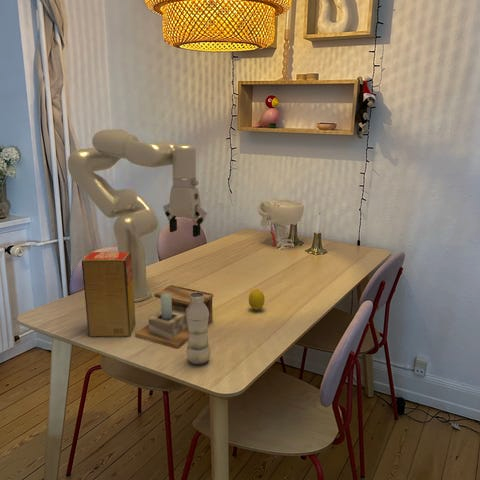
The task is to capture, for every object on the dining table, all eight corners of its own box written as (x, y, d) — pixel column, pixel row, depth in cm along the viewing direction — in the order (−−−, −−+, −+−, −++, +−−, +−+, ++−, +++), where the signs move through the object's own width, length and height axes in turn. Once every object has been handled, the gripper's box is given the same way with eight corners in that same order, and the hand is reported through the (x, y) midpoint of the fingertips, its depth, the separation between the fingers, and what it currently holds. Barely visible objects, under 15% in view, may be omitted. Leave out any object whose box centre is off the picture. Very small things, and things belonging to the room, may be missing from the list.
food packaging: (136, 323, 151) (132, 250, 144) (130, 337, 142) (125, 260, 135) (95, 323, 151) (89, 250, 144) (87, 337, 141) (79, 260, 135)
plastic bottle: (198, 370, 124) (196, 301, 119) (181, 361, 129) (179, 294, 123) (215, 360, 129) (214, 294, 123) (198, 352, 133) (197, 288, 128)
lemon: (254, 305, 165) (255, 284, 163) (267, 309, 162) (267, 288, 159) (245, 310, 161) (245, 289, 159) (257, 315, 157) (258, 293, 155)
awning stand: (171, 311, 159) (170, 285, 157) (213, 322, 152) (213, 294, 149) (134, 336, 142) (132, 306, 140) (179, 348, 135) (178, 317, 132)
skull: (307, 245, 237) (310, 202, 231) (293, 255, 222) (295, 208, 215) (264, 238, 249) (265, 197, 243) (248, 247, 233) (248, 203, 227)
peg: (166, 327, 145) (164, 292, 142) (174, 329, 144) (173, 294, 141) (160, 331, 143) (158, 296, 139) (168, 334, 141) (167, 297, 138)
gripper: (212, 184, 148) (212, 235, 153) (170, 178, 157) (171, 227, 162) (199, 187, 142) (199, 240, 147) (156, 181, 150) (157, 231, 155)
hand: (184, 233), depth 154 cm, fingers open, 9 cm apart
